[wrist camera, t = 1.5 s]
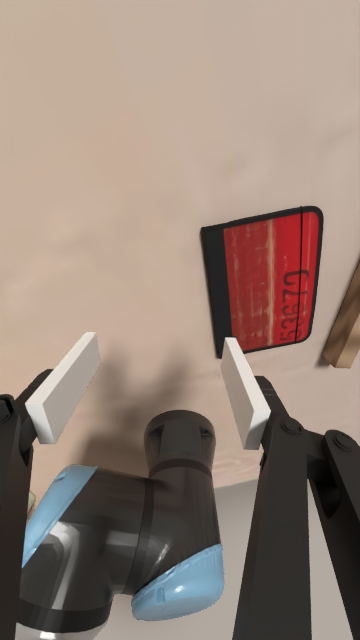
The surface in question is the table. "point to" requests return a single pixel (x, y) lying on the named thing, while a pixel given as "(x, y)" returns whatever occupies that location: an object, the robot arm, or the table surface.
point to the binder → (264, 277)
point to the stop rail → (346, 329)
